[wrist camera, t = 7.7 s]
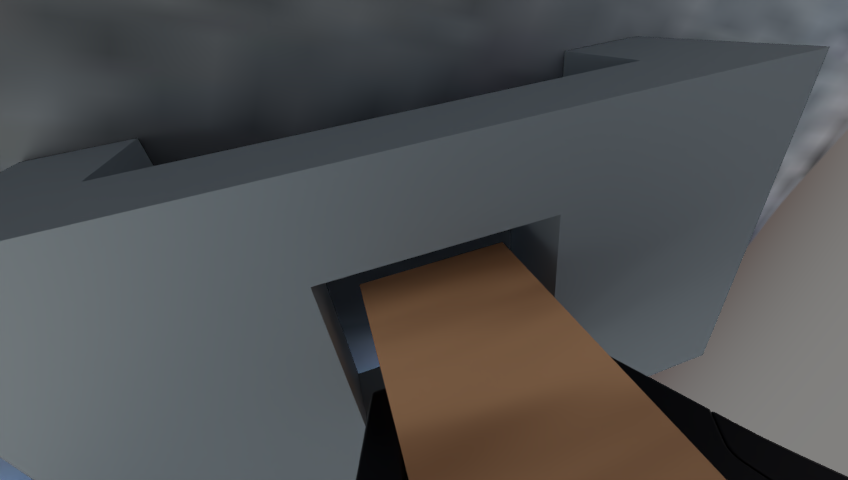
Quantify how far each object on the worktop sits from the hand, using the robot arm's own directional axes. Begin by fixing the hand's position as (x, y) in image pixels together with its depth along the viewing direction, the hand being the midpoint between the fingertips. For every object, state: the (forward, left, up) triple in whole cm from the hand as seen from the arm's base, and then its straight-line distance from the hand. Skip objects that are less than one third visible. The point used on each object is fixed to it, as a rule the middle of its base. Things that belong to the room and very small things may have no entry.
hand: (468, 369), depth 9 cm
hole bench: (0, 0, -7) cm, 7 cm away
